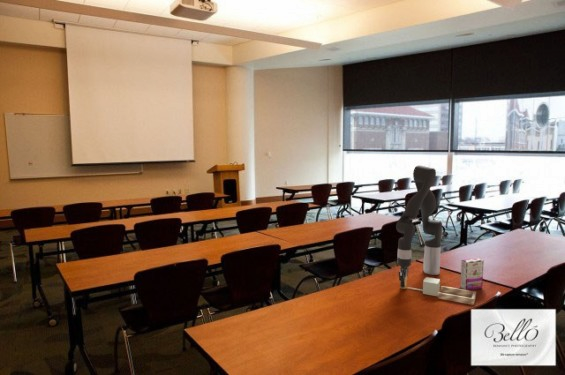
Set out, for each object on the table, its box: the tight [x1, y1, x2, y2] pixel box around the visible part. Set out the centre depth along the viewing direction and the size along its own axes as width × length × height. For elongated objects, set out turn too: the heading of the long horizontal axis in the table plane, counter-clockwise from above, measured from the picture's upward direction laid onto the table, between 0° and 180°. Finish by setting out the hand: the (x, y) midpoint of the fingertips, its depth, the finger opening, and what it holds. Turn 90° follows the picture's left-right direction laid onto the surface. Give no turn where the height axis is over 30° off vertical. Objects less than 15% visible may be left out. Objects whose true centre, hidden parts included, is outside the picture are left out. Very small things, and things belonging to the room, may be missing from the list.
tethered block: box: [399, 275, 441, 297], centre depth 225 cm, size 20×8×7 cm, turn 60°
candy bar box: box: [460, 257, 485, 291], centre depth 228 cm, size 11×5×16 cm, turn 105°
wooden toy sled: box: [437, 285, 477, 306], centre depth 216 cm, size 17×11×3 cm, turn 60°
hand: (403, 285), depth 230 cm, fingers closed on tethered block, 3 cm apart
